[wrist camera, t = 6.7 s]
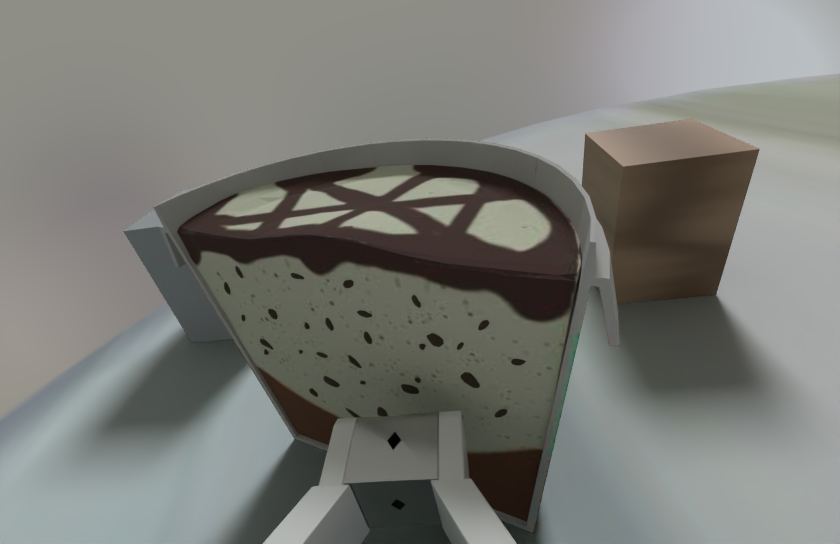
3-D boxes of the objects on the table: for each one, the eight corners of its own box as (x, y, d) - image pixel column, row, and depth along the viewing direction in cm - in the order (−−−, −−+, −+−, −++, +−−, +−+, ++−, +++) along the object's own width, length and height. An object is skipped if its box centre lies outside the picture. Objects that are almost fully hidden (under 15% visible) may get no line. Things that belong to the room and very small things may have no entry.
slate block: (303, 282, 26) (264, 178, 22) (277, 335, 22) (224, 218, 18) (231, 290, 27) (181, 190, 23) (192, 343, 22) (123, 230, 19)
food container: (608, 389, 16) (645, 125, 10) (587, 555, 11) (635, 244, 6) (349, 331, 21) (286, 138, 16) (266, 428, 17) (140, 205, 11)
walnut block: (666, 243, 24) (691, 118, 20) (715, 295, 19) (759, 149, 16) (577, 253, 24) (585, 133, 20) (606, 305, 20) (623, 166, 16)
